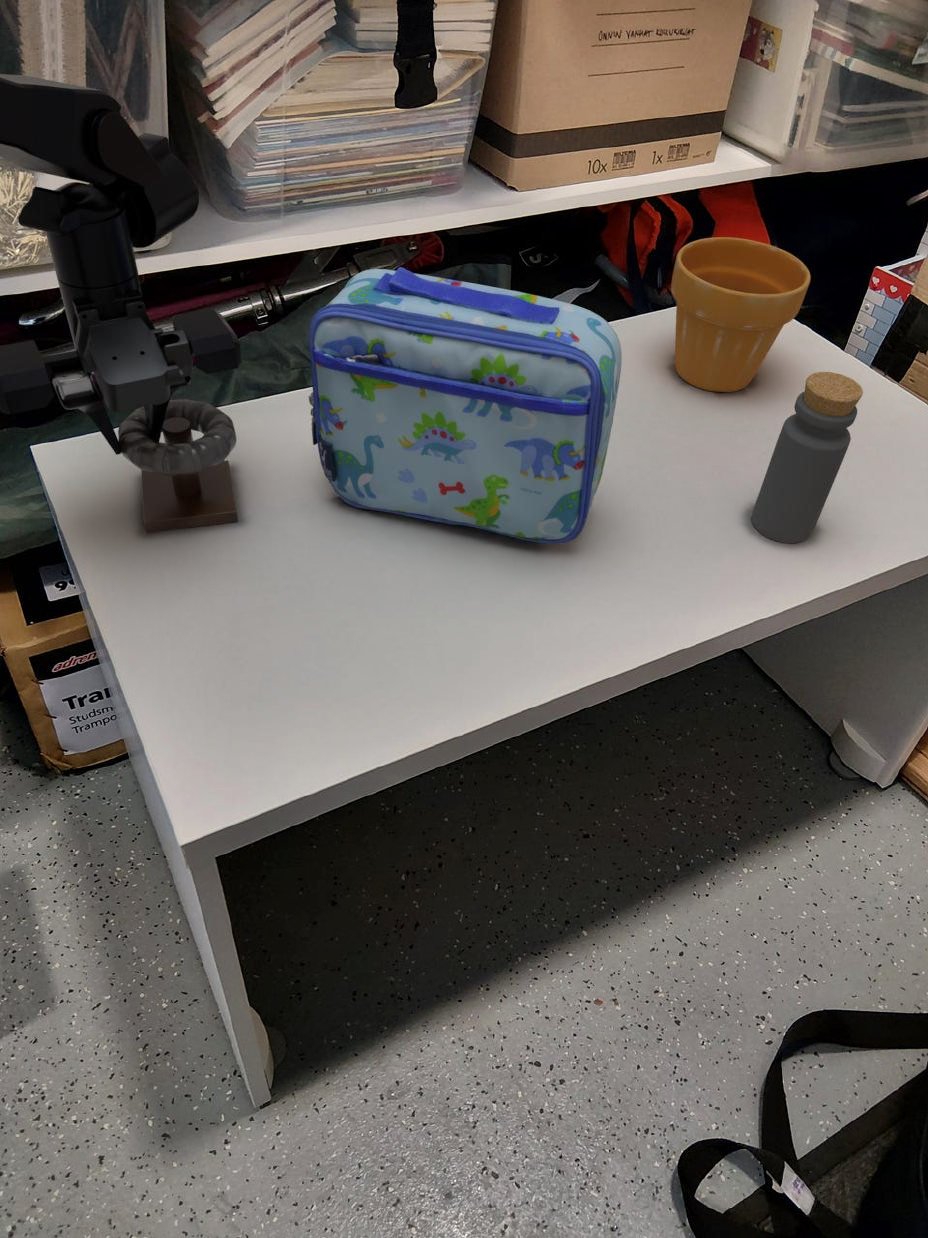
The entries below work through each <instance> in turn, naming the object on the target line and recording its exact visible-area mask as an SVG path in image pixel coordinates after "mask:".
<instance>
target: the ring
mask: <svg viewBox="0 0 928 1238" xmlns="http://www.w3.org/2000/svg"><path fill="white" fill-rule="evenodd" d="M174 417H181V418H185V419H187V420H188V421H189V422H190V425H191V431H194V432H198V433H199V432H200V433H201V434H203V435H202V437H200V438H197V439H195V440H194V439H193V441H192V442H189V443H181V444H165V442H161V441H159V442H156V441H153V440H152V439H151V438H150V435H149V432H148V428H147V424H146V417H145V409H144V406H140V407H137V408H136V409H135V410H133V412H132V413H130V414H129V415H128V417H126V418H125V419H124V420H123V421H122V422H121V423H120V425H119V427H118V429H117V436H118V437H117V439H118V441H119V446H120V451H121V455H122V456H123V457H124V458H125V459H126V460H127V461H129V462H130V463H131V464H133V465H134V467H135V466H136V467H137V469H139V470H140V471H141V470H144V471H148V472H153V473H157V474H162V475H166V476H174V475H186V474H196V473H200V472H202V471H204V470H207V469H209V468H211V467H214V466H216V465H218V464H220V463H222V462H223V461H226V458H227V457H228V456H229V455H230V453H231V452H232V451H233V450H234V449H235V447H236V444H237V433H236V429H235V424H234V421H233V420H232V418H231V417H230V416H229V415H228V414H227V413H225V412H223V411H222V410H220V409H219V408H217V406H215V405H213V404H211V403H208V402H202V401H198V400H194V399H188V398H179V399H170V401H169V404H168V407H167V410H166V414H165V419H164V421H166V420H167V419H170V418H174ZM161 434H163V431H162V432H161Z"/></svg>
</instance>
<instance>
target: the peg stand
mask: <svg viewBox="0 0 928 1238" xmlns="http://www.w3.org/2000/svg"><path fill="white" fill-rule="evenodd" d="M162 431H163V432H162V436H163V440H164V443H165V444H181V443H189V442H192V441H194V438H193V430H191V425H190V422H189V421H188V420H187V419H185V418H181V417H174V418H170V419H167V420H166V421H164V423H163V428H162ZM140 471H141V473H140V474H141V493H142V511H143V524H144V530H145V532H146V533H153V532H161V531H162V532H163V531H169V530H170V531H171V530H179V529H187V528H196V527H204V526H205V527H206V526H212V525H213V526H214V525H222V524H230V523H238V522H239V518H238V512H237V511H238V510H237V505H236V499H235V498H236V497H235V493H234V486H233V480H232V474H231V468H230V461H229V460H228V459H227V460H224V461H223V462H222V463H220V464H218V465H216V466H214V467H211V468H209V469H207V470H204V471H202V472H200V473H196V474H186V475H174V476H166V475H162V474H157V473H153V472H148V471H144V470H141V469H140Z"/></svg>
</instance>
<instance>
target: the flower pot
mask: <svg viewBox="0 0 928 1238" xmlns="http://www.w3.org/2000/svg"><path fill="white" fill-rule="evenodd" d="M810 283H811V273H810V271H809V268H808V267H807V265H805V264H804V262H803V261H802V260H800V259H799V258H798V257H796V256H794V254H792V253H790V252H788V251H786V250H784V249H781V248H779V247H776V246H774V245H771V244H769V243H764V242H761V241H757V240H752V239H746V238H740V237H728V236H727V237H726V236H725V237H723V236H720V237H706V238H700V239H697V240H694V241H691V242H688V243H687V244H685V245H684V246H682V247H681V248H680V250H678V252H677V254H676V258H675V263H674V266H673V271H672V276H671V283H670V292H671V295H672V297H673V298H674V300H675V301H676V307H675V308H676V309H675V312H676V313H675V341H674V342H675V343H674V345H675V346H674V348H675V349H674V367H675V368H674V369H675V371H676V373H677V375H678V376H679V377H681V379H682V380H684V381H685V382H687V383H688V384H689V385H692V386H694V387H696V388H698V389H702V390H705V391H710V392H723V393H731V392H737V391H740V390H743V389H745V388H747V386H748V385H749V384H750V383H751V381H752V380H753V379H754V377H755V375H756V373H757V372H758V370H759V368H761V367H760V366H761V365H762V363H763V362H764V360H765V359H766V357H767V355H768V354H769V351H770V350H771V348H772V347H773V345H774V343H775V342H776V339H777V338H778V336H779V334H780V333H781V331H782V330H783V328H784V326H785V325H787V324H788V323H790V322H791V321H793V320H794V319H795V318H796V317H797V316H798V314H799V312H800V309H801V307H802V305H803V303H804V299H805V297H806V294H807V291H808V288H809V286H810Z"/></svg>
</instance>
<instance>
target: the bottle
mask: <svg viewBox="0 0 928 1238" xmlns="http://www.w3.org/2000/svg"><path fill="white" fill-rule="evenodd" d="M863 394H864V390H863V388H862V386H861V385H860V384H859V383H858V382H857V381H856V380H854V379H853V378H851V377H849V376H846V375H844V374H842V373H838V372H831V371H818V372H817V371H816V372H814V373H811V374H809V375H808V376H807V377H806V379H805V386H804V391H802V392H801V393H800V394H798V396H797V397H796V400H795V403H794V408H793V409H794V412H795V413H794V414H791V415H790V416H788V417H787V418H786V419H785V420H784V422H783V424H782V427H781V430H780V433H779V435H778V438H777V441H776V444H775V447H774V448H773V453H772V455H771V458H770V460H769V463H768V466H767V470H766V472H765V474H764V478H763V481H762V483H761V486H760V489H759V492H758V496H757V498H756V501H755V504H754V506H753V510H752V513H751V523H752V525H753V527H754V528H755V530H757V531H758V532H759V533H760V534H761V535H763V537H765V538H768V539H769V540H772V541H774V542H778V543H785V544H798V543H802V542H805V541H806V540H807V539H809V538H810V537H811V536H812V534H813V532H814V530H815V529H816V525H817V523H818V521H819V518H820V516H821V514H822V512H823V509H824V506H825V504H826V501H827V500H828V497H829V495H830V492H831V490H832V487H833V485H834V484H835V483H834V482H835V480H836V479H837V475H838V473H839V470H840V468H841V466H842V463H843V461H844V458H845V457H846V454H847V451H848V449H849V446H850V443H851V440H852V437H851V433H850V431H849V429H848V428H849V427H851V426H852V425H853V424H854V422H855V420H856V418H857V415H858V408H857V404H858V403H859V401H860V400H861V398H862V397H863Z"/></svg>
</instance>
